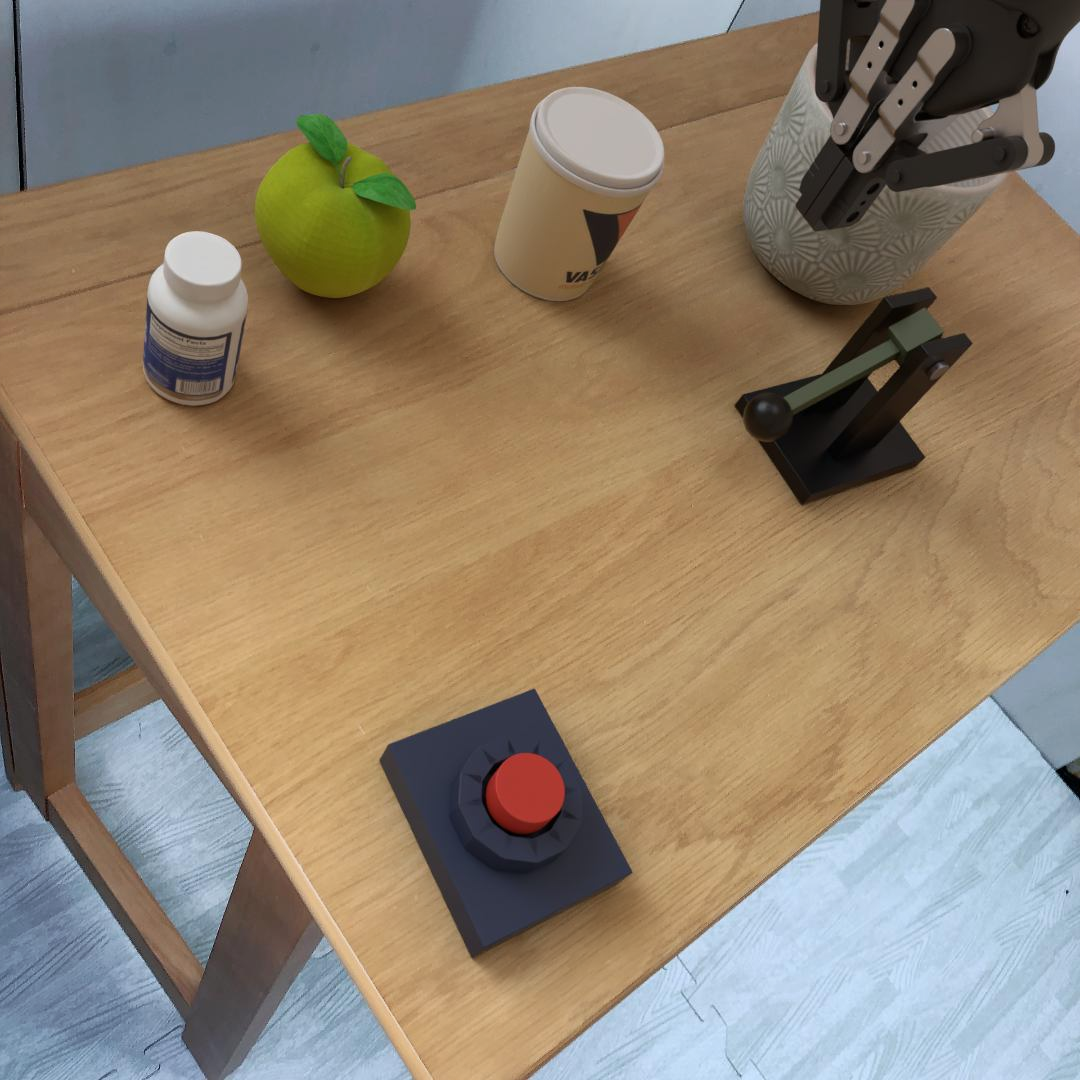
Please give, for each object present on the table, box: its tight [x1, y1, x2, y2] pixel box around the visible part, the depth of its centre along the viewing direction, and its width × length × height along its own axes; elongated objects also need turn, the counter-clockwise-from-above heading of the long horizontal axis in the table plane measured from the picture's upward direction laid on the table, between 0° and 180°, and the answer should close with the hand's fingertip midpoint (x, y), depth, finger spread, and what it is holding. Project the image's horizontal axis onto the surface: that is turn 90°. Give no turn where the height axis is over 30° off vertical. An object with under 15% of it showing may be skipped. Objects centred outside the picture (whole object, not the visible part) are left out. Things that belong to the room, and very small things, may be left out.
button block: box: [378, 688, 633, 959], centre depth 59 cm, size 11×9×4 cm
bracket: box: [734, 287, 974, 506], centre depth 80 cm, size 12×9×13 cm
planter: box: [742, 39, 1011, 306], centre depth 89 cm, size 17×17×15 cm
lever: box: [742, 308, 945, 442], centre depth 76 cm, size 14×3×3 cm, turn 119°
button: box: [486, 753, 565, 834], centre depth 57 cm, size 4×4×2 cm
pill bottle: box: [142, 230, 249, 407], centre depth 65 cm, size 5×5×10 cm
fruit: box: [254, 113, 417, 299], centre depth 73 cm, size 9×9×10 cm
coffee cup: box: [493, 86, 665, 302], centre depth 80 cm, size 9×9×12 cm
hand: (818, 218), depth 52 cm, fingers closed
